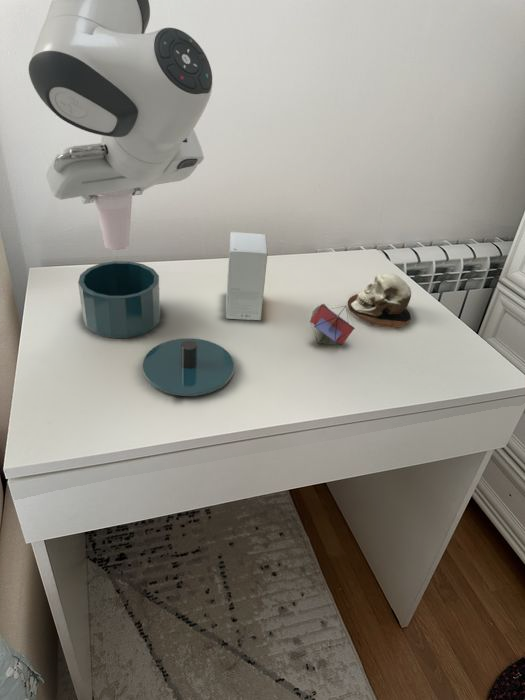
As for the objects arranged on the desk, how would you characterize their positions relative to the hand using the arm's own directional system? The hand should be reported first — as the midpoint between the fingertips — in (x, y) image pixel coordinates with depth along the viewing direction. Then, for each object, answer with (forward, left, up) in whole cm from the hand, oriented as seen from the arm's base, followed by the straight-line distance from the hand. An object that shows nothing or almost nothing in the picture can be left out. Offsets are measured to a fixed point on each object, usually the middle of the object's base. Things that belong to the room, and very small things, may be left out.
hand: (111, 194), depth 79 cm
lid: (-3, -19, -21) cm, 28 cm away
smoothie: (0, -1, -8) cm, 8 cm away
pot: (0, -1, -21) cm, 21 cm away
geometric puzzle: (+19, -31, -22) cm, 42 cm away
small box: (+17, -14, -22) cm, 31 cm away
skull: (+34, -33, -21) cm, 52 cm away
